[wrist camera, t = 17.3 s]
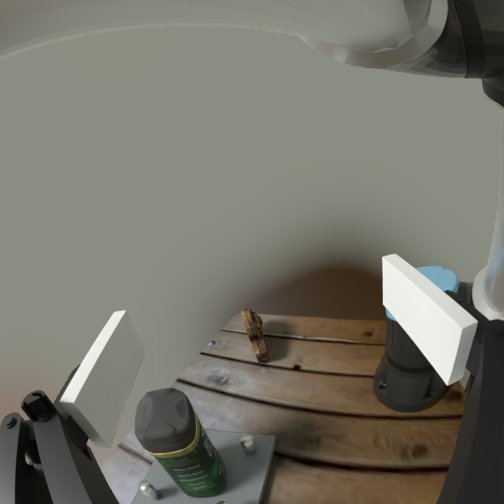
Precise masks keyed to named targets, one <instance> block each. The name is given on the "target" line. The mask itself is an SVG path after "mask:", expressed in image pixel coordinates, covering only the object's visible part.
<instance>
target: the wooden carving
mask: <svg viewBox="0 0 504 504" xmlns="http://www.w3.org/2000/svg"><path fill="white" fill-rule="evenodd" d="M241 315H242V319H243V322H244V325H245V328H246V331H247V334H248V336H249V339H250V341H251V344H252V347H253V350H254V353H255V355H256V358H257V360H258V362H259V363H261V362H264V361H265V360H268V354H269V353H268V349H267V347H266V343H265V340H264V338H263V335H262V334H263V327H262V324H263V323H262V319H261V317H260V316H258V315H257V314H256V312H252V311H251V310H250V308H247V309H245V310H244V309H243V310H241Z"/></svg>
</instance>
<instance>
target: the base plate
mask: <svg viewBox="0 0 504 504" xmlns="http://www.w3.org/2000/svg"><path fill="white" fill-rule="evenodd" d="M204 431H205V432H206V434H207V436H208V437H209V439H210V441H211V442H212V444H213V446H214V447H215V448H216V450H217V452H218V453H219V455H220V456H221V458H222V461H223V463H224V467H225V471H226V486H225V488H224V489H223V490H222V491H221V492H220V493H218V494H215V495H212V496H208V497H199V498H195V497H190V496H187V495H186V494H185V493H184V492H183V491H182V490H181V489H180V488H179V487H178V486H177V484H176V483H175V482H174V481H173V479H172V478H171V477H170V475H169V474H168V473H167V472H166V471H165V469H164V468H163V467H162V466H161V464H160V463H159V462H158V461H157V459H156V458H155V460H154V462H153V464H152V466H151V468H150V469H149V471H148V473H147V475H146V477H145V479H144V480H143V481H141V482H140V483H139V484H138V488H139V490H138V492H137V493H136V495H135V497H134V499H133V501H132V503H131V504H261V500H262V497H263V493H264V489H265V485H266V481H267V478H268V474H269V470H270V466H271V462H272V458H273V453H274V449H275V445H276V441H277V439H276V436H273V435H255V434H249V433H244V434H243V433H232V432H223V431H215V430H207V429H204Z"/></svg>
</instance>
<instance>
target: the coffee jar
mask: <svg viewBox="0 0 504 504" xmlns="http://www.w3.org/2000/svg"><path fill="white" fill-rule="evenodd" d="M135 435H136V437H137V439H138V440H139V442H140V443H141V445H142V446H143V448H144V449H145V450H146V451H147V452H148V453H149V454H151V455H153V456H154V457H155V458H156V459H157V461H158V462H159V463H160V464H161V466H162V467H163V468H164V469H165V471H166V472H167V473H168V474H169V475H170V477H171V478H172V479H173V481H174V482H175V483H176V484H177V486H178V487H179V488H180V489H181V490H182V491H183V492H184V493H185V494H186V495H187V496H190V497H195V498H199V497H208V496H212V495H215V494H218V493H220V492H221V491H222V490H223V489H224V488H225V486H226V471H225V467H224V463H223V461H222V458H221V456H220V455H219V453H218V452H217V450H216V448H215V447H214V446H213V444H212V442H211V441H210V439H209V437H208V436H207V434H206V432H205V431H204V429H203V427H202V425H201V423H200V421H199V419H198V417H197V415H196V413H195V410H194V408H193V406H192V405H191V403H190V401H189V399H188V397H187V396H186V395H185V394H184V393H183V392H181V391H179V390H177V389H174V388H166V389H160V390H155V391H151V392H148V393H146V394H145V396H144V397H143V398H142V399H141V400H140V402H139V404H138V406H137V411H136V417H135Z"/></svg>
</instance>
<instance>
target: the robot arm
mask: <svg viewBox="0 0 504 504" xmlns="http://www.w3.org/2000/svg"><path fill="white" fill-rule="evenodd" d="M157 26H221V27H236V28H247V29H256V30H265V31H272V32H279V33H285V34H291V35H296V36H299V37H300V38H301V39H302V40H303V41H304V42H305V43H307V44H308V45H309V46H311V47H312V48H313V49H315V50H316V51H318V52H320V53H321V54H323V55H325V56H327V57H329V58H331V59H333V60H336V61H339V62H342V63H345V64H349V65H353V66H358V67H365V68H376V69H383V70H390V71H396V72H404V73H411V74H418V75H427V76H437V77H451V78H479V79H482V85H483V92H484V95H485V97H486V98H487V99H488V100H489V101H490V102H491V103H492V104H493V105H494V106H495V108H496V109H497V110H498V111H499V112H500V117H501V172H500V187H499V198H498V208H497V215H496V222H495V229H494V235H493V241H492V246H491V251H490V256H489V260H488V265H487V266H486V267H484V268H483V269H482V270H481V271H480V272H479V273H478V275H477V276H476V279H475V280H474V283H468V282H459V281H458V278H457V276H456V274H455V273H454V272H453V271H451V270H449V269H447V270H445V268H443V267H436V266H428V267H421V268H417V269H415V268H413V267H412V266H411V265H410V264H408V263H407V262H406V261H404V260H403V259H402V258H400V257H399V256H398V255H396V254H392V255H388V256H384V257H382V259H383V305H384V306H385V307H386V312H387V330H386V349H385V354H384V356H383V358H382V360H381V362H380V363H379V365H378V367H377V369H376V372H375V376H374V391H375V394H376V396H377V398H378V399H379V400H380V402H381V403H383V404H384V405H385V406H387V407H388V408H390V409H393V410H396V411H399V412H418V411H422V410H425V409H427V408H429V407H431V406H432V405H434V404H435V403H436V402H438V400H439V399H440V398H441V397H442V395H443V393H444V391H445V388H446V385H447V386H448V385H450V384H452V383H454V382H456V381H458V380H460V379H462V377H463V375H464V371H465V368H467V369H468V370H469V371H470V373H471V374H470V377H469V380H468V383H467V385H466V388H465V391H464V392H467V394H466V400H465V406H464V411H463V416H462V421H461V426H460V430H459V434H458V438H457V442H456V446H455V450H454V453H453V457H452V460H451V464H450V467H449V470H448V473H447V476H446V479H445V482H444V485H443V488H442V490H441V493H440V496H439V498H438V501H437V503H436V504H503V502H504V0H0V60H1V59H3V58H6V57H9V56H12V55H14V54H17V53H20V52H23V51H26V50H29V49H33V48H36V47H39V46H43V45H46V44H50V43H53V42H58V41H62V40H66V39H70V38H75V37H80V36H84V35H90V34H96V33H102V32H108V31H115V30H123V29H133V28H144V27H157ZM144 355H145V350H144V348H143V346H142V343H141V342H140V340H139V337H138V335H137V333H136V331H135V329H134V326H133V324H132V322H131V320H130V317H129V315H128V313H127V311H126V310H124V311H118V312H114V314H113V315H112V316H111V318H110V320H109V321H108V322H107V324H106V325H105V327H104V328H103V330H102V331H101V333H100V335H99V336H98V338H97V339H96V341H95V342H94V344H93V346H92V347H91V349H90V350H89V352H88V354H87V355H86V357H85V359H84V361H83V362H82V363H81V364H80V365H79V366H78V367H76V368H75V369H74V370H73V371H72V373H71V375H70V376H69V378H68V380H67V381H66V383H65V384H64V387H63V388H62V390H61V391H60V394H59V395H58V397H57V398H56V400H55V402H54V403H53V404H52V402H51V401H50V400H49V398H48V397H47V396H46V394H45V393H44V392H43V391H41V390H39V391H38V390H37V391H34V392H32V393H30V394H28V395H27V396H26V397H25V398H24V400H23V401H22V403H21V408H22V409H23V411H24V412H25V413H26V414H27V416H28V417H29V418H30V419H31V420H24V419H23V418H22V417H21V416H20V414H18V413H11V414H9V415H7V416H6V417H5V418H4V419H3V421H2V423H1V426H0V504H119V502H118V501H117V499H116V497H115V496H114V494H113V492H112V490H111V488H110V487H109V485H108V483H107V481H106V479H105V477H104V475H103V474H102V472H101V470H100V468H99V466H98V464H97V461H96V459H95V457H94V455H93V453H92V451H91V449H90V448H89V446H88V445H87V441H88V439H90V440H91V441H92V442H93V443H94V444H95V445H96V446H99V447H110V448H111V446H112V443H113V440H114V437H115V434H116V431H117V428H118V425H119V422H120V419H121V417H122V413H123V411H124V408H125V405H126V402H127V400H128V397H129V394H130V392H131V389H132V386H133V383H134V381H135V378H136V376H137V373H138V370H139V368H140V365H141V362H142V360H143V357H144ZM25 456H26V457H27V458H28V459H29V464H27V463H26V460H25Z"/></svg>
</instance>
